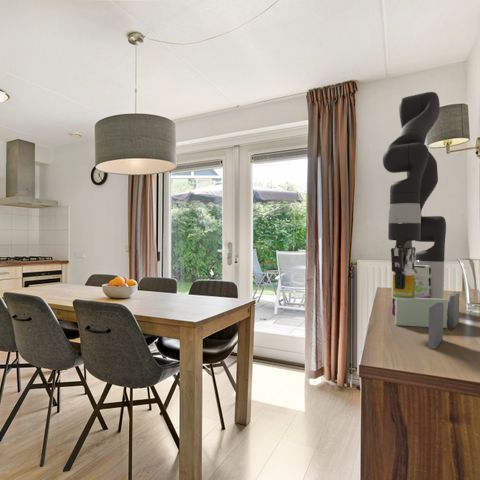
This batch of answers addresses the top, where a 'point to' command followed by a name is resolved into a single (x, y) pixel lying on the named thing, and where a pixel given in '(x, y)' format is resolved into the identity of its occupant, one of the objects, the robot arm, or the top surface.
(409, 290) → the supplement bottle
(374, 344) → the top surface
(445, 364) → the top surface
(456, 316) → the door frame
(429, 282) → the candy bar box
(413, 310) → the door
